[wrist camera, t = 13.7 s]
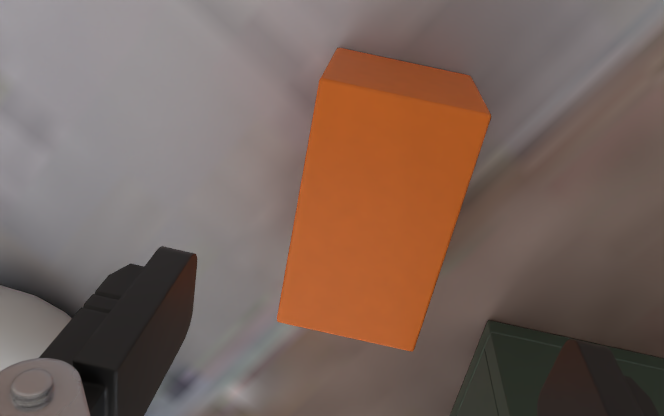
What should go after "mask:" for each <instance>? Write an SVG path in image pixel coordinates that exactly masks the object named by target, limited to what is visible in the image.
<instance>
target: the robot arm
mask: <svg viewBox="0 0 664 416" xmlns="http://www.w3.org/2000/svg"><path fill="white" fill-rule="evenodd" d="M196 269H197V256H196V254H194V253H190V252H185V251H181V250H176V249H172V248H167V247H163V246H162V247H160V248H159V249H158V250H157V251H156V252H155V254H154V255H153V256H152V258H151V259H150V260H149V261H148V263H147V264H146V265H145V267H143V266H139V265H134V264H129V265H127V266H125V267H123V268H121V269H120V270H118V271H116V272H114V273H112V274H110V275H109V276H108V277H107V278H106V279H105V281H104V282H103V283H102V284H101V285H100V286H99V288H98V289H97V290H96V292H95V294H93V295H92V296H91V297H90V298H89V299H88V300H87V302H86V303H85V304H84V307H83V308H81V309H80V310H79V311H78V312H77V313H76V315H75V316H74V317H73V318H72V319H71V320H70V322H69V323H68V324H67V325H66V326H65V327H64V329H63V330H62V331H61V332H60V333H59V334H58V336H57V337H56V338H55V339H54V340H53V341H52V343H51V344H50V345H49V346H48V347H47V348H46V350H45V351H44V352H43V353H42V354H41V356H40V357H39V358H35V359H29V360H25V361H21V362H18V363H15V364H13V365H11V366H9V367H7V368H5V369H3V370H2V371H0V416H144V414H145V413H146V411H147V409H148V407H149V405H150V403H151V401H152V399H153V398H154V396H155V394H156V392H157V390H158V388H159V386H160V384H161V383H162V381H163V379H164V377H165V375H166V373H167V371H168V369H169V368H170V366H171V364H172V362H173V360H174V358H175V356H176V354H177V353H178V351H179V349H180V347H181V345H182V343H183V341H184V339H185V337H186V335H187V332H188V329H189V326H190V322H191V318H192V312H193V302H194V291H195V280H196ZM537 416H660V415H659V413H658V411H657V409H656V407H655V406H654V404H653V402H652V400H651V398H650V397H649V396H648V395H647V394H646V393H645V392H644V391H643V390H642V389H641V388H640V387H639V385H638V384H637V383H636V382H635V381H634V380H633V379H632V378H631V377H628V376H624V375H623V373H622V371H621V369H620V367H619V365H618V363H617V361H616V359H615V357H614V355H613V353H612V352H611V350H610V349H609V348H608V347H605V346H600V345H596V344H591V343H587V342H582V341H578V340H573V339H569V340H568V341H566V342H565V344H564V345H563V347H562V349H561V351H560V353H559V355H558V357H557V359H556V361H555V363H554V365H553V367H552V369H551V371H550V373H549V375H548V377H547V379H546V381H545V383H544V385H543V387H542V389H541V391H540V394H539V398H538V403H537Z"/></svg>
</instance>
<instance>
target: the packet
mask: <svg viewBox="0 0 664 416" xmlns="http://www.w3.org/2000/svg"><path fill="white" fill-rule="evenodd" d="M490 119H491V114H490V112H489V110H488V108H487V106H486V104H485V103H484V101H483V99H482V97H481V95H480V93H479V91H478V89H477V87H476V85H475V83H474V81H473V80H472V78H471V76H469V75H465V74H460V73H456V72H451V71H446V70H442V69H437V68H432V67H428V66H423V65H418V64H414V63H409V62H404V61H400V60H395V59H390V58H386V57H381V56H376V55H372V54H367V53H362V52H358V51H353V50H348V49H344V48H337V49H336V51H335V53H334V55H333V56H332V58H331V60H330V62H329V64H328V66H327V67H326V69H325V71H324V73H323V75H322V77H321V78H320V80H319V85H318V91H317V96H316V102H315V108H314V113H313V119H312V124H311V130H310V136H309V141H308V147H307V152H306V158H305V164H304V169H303V175H302V180H301V186H300V192H299V197H298V203H297V208H296V214H295V220H294V225H293V231H292V236H291V242H290V248H289V253H288V259H287V264H286V270H285V276H284V281H283V287H282V292H281V298H280V304H279V309H278V315H277V321H278V322H280V323H285V324H289V325H294V326H298V327H303V328H307V329H312V330H316V331H321V332H325V333H330V334H334V335H339V336H344V337H348V338H353V339H357V340H362V341H366V342H371V343H375V344H380V345H384V346H389V347H393V348H398V349H402V350H407V351H413V350H414V348H415V345H416V342H417V339H418V336H419V333H420V330H421V327H422V324H423V321H424V318H425V315H426V312H427V309H428V306H429V303H430V300H431V297H432V294H433V291H434V288H435V285H436V282H437V279H438V276H439V273H440V270H441V267H442V264H443V261H444V258H445V255H446V252H447V249H448V246H449V243H450V240H451V237H452V234H453V231H454V228H455V225H456V222H457V219H458V216H459V213H460V210H461V207H462V204H463V201H464V198H465V195H466V192H467V189H468V186H469V183H470V180H471V177H472V174H473V171H474V168H475V165H476V162H477V159H478V156H479V153H480V149H481V146H482V143H483V140H484V137H485V134H486V131H487V128H488V125H489V122H490Z"/></svg>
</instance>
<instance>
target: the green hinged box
mask: <svg viewBox="0 0 664 416" xmlns="http://www.w3.org/2000/svg"><path fill="white" fill-rule="evenodd" d="M569 339H572V338H567V337H563V336H558V335H554V334H549V333H545V332H540V331H536V330H531V329H526V328H522V327H517V326H513V325H508V324H504V323H499V322H495V321H490V320H489V321H488V322H487V324H486V326H485V329H484V331H483V334H482V336H481V339H480V341H479V344H478V346H477V349H476V351H475V354H474V356H473V359H472V361H471V364H470V366H469V369H468V371H467V374H466V376H465V379H464V381H463V384H462V386H461V389H460V391H459V394H458V396H457V399H456V402H455V404H454V407H453V409H452V412H451V414H450V416H537V403H538V398H539V394H540V391H541V389H542V387H543V385H544V383H545V381H546V379H547V377H548V375H549V373H550V371H551V369H552V367H553V365H554V363H555V361H556V359H557V357H558V355H559V353H560V351H561V349H562V347H563V345H564V344H565V342H566V341H568V340H569ZM573 340H576V339H573ZM578 341H581V340H578ZM582 342H586V341H582ZM587 343H590V342H587ZM591 344H595V343H591ZM596 345H599V344H596ZM600 346H604V345H600ZM605 347H608V346H605ZM608 348H609V349H610V350H611V352H612V353H613V355H614V357H615V359H616V361H617V363H618V365H619V367H620V369H621V371H622V373H623V375H624V376H628V377H631V378H632V379H633V380H634V381H635V382H636V383H637V384H638V385H639V387H640V388H641V389H642V390H643V391H644V392H645V393H646V394H647V395H648V396H649V397H650V398H651V400H652V402H653V404H654V406H655V407H656V409H657V411H658V413H659V415H660V416H664V359H663V358H658V357H654V356H649V355H645V354H640V353H636V352H631V351H626V350H622V349H617V348H613V347H608Z"/></svg>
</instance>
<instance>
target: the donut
mask: <svg viewBox="0 0 664 416" xmlns="http://www.w3.org/2000/svg"><path fill="white" fill-rule="evenodd" d="M71 319H72V318H71V317H70V316H69V315H67V314H66V313H65V312H64V311H62V310H60V309H58V308H57V307H55V306H53V305H51V304H50V303H48V302H46V301H44V300H42V299H41V298H39V297H37V296H35V295H32V294H28V293H25V292H22V291H18V290H15V289H11V288H8V287H5V286H1V285H0V371H2V370H3V369H5V368H7V367H9V366H11V365H13V364H15V363H18V362H21V361H25V360H29V359H35V358H39V357H40V356H41V354H42V353H43V352H44V351H45V350H46V348H47V347H48V346H49V345H50V344H51V343H52V341H53V340H54V339H55V338H56V337H57V336H58V334H59V333H60V332H61V331H62V330H63V329H64V327H65V326H66V325H67V324H68V323H69V322H70V320H71Z"/></svg>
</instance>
